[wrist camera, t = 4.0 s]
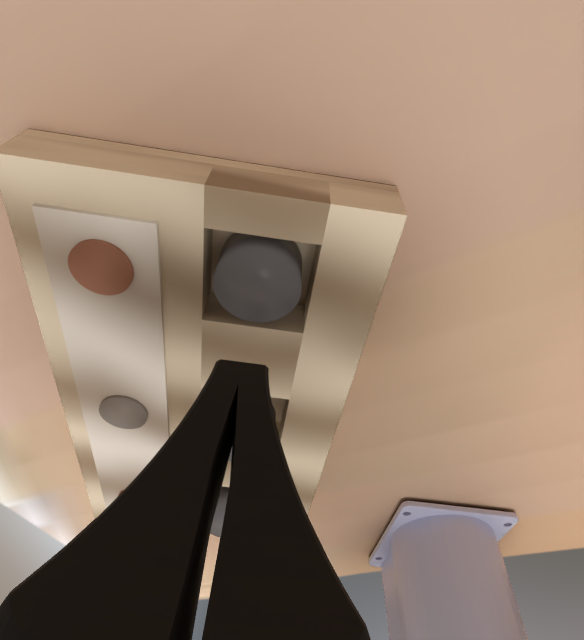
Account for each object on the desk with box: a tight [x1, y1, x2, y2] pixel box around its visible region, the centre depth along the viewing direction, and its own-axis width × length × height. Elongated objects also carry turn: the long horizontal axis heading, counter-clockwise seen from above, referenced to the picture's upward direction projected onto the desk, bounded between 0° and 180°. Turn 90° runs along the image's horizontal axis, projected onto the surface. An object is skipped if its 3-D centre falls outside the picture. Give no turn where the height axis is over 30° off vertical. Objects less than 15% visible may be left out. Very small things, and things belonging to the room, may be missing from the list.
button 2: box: [210, 487, 229, 537], centre depth 26 cm, size 3×3×2 cm
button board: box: [0, 129, 407, 519], centre depth 22 cm, size 23×13×3 cm, turn 172°
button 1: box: [213, 233, 302, 322], centre depth 17 cm, size 3×3×2 cm
